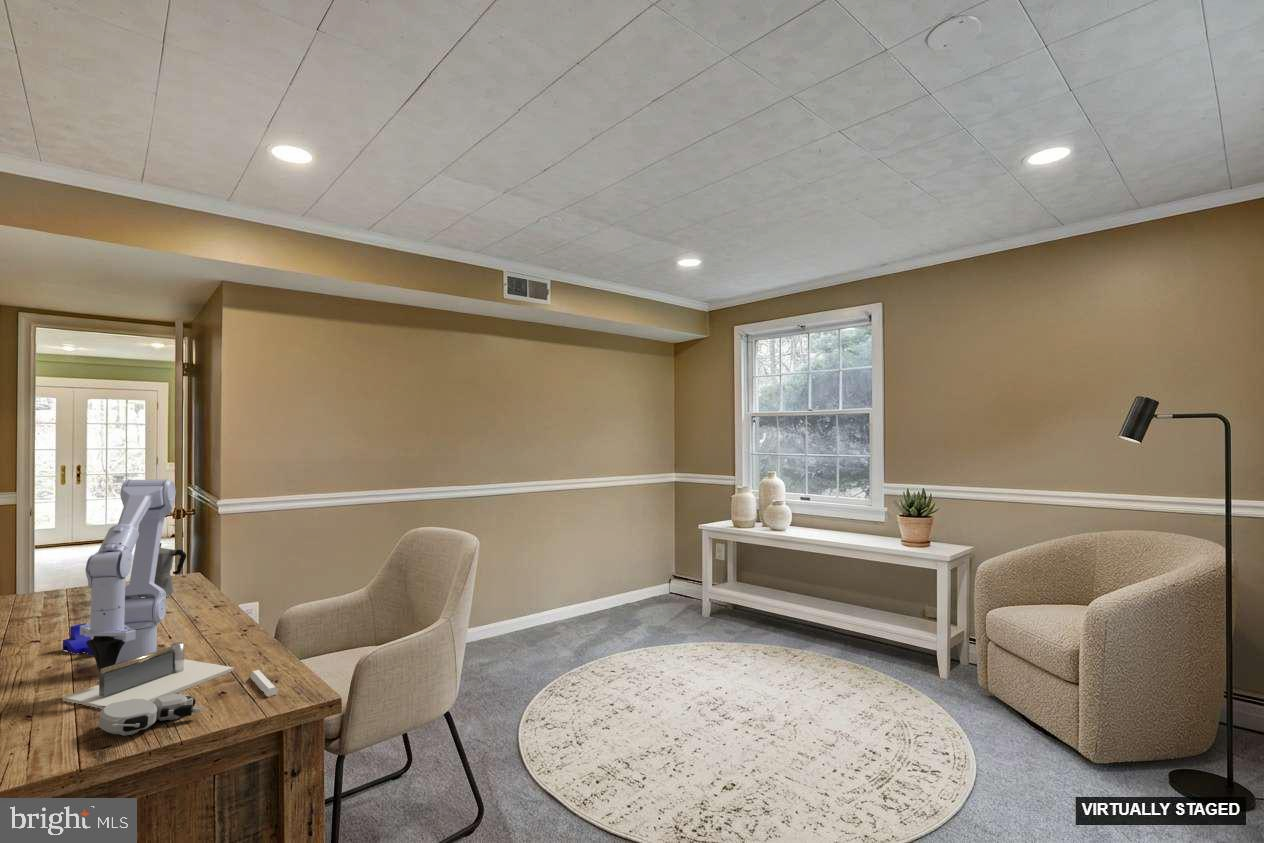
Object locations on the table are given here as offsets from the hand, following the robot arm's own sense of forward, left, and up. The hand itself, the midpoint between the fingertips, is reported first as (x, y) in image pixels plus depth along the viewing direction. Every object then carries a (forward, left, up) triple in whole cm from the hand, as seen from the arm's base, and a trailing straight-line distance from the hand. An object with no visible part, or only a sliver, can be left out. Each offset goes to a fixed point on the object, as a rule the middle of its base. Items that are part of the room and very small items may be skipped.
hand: (106, 671), depth 137 cm
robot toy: (+25, -8, -4) cm, 27 cm away
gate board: (+7, +5, -4) cm, 9 cm away
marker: (+29, +13, -5) cm, 32 cm away
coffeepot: (-67, +58, -4) cm, 89 cm away
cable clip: (-30, +14, -4) cm, 34 cm away
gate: (+6, +3, -3) cm, 7 cm away
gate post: (+6, +11, -4) cm, 13 cm away
